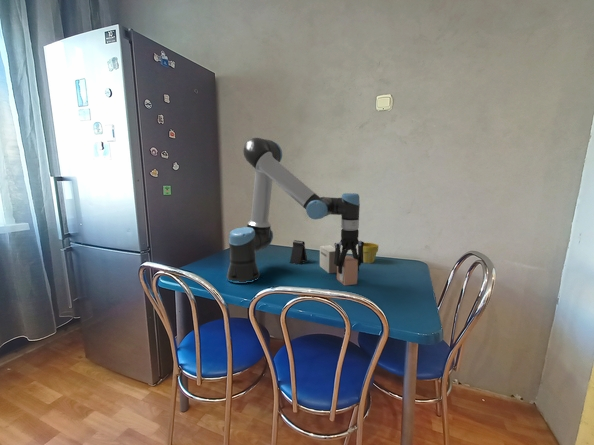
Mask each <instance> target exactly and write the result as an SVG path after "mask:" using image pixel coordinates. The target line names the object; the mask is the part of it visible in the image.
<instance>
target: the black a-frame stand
mask: <svg viewBox="0 0 594 445" xmlns="http://www.w3.org/2000/svg"><path fill="white" fill-rule="evenodd" d="M305 244H306V243H305V241H302V240H295V239H294V240H293V241H292V249H291V254H290V259H289V260H290V261H289V263H290V264H293V263H295V265H298V264H300V265H302V264H304V263H306V262H308V256H307V250H306V246H305ZM305 261H306V262H305ZM303 262H304V263H303ZM301 263H302V264H301Z"/></svg>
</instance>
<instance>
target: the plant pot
mask: <svg viewBox="0 0 594 445" xmlns="http://www.w3.org/2000/svg"><path fill="white" fill-rule="evenodd" d="M378 251H379V244H377V243H373V242H364V246H363V264H364V263H365V264H373V263H375V260H376V255H377V253H378Z"/></svg>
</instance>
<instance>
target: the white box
mask: <svg viewBox="0 0 594 445" xmlns="http://www.w3.org/2000/svg"><path fill="white" fill-rule="evenodd" d="M341 252H342V250H340V255H341ZM334 259H335V246H332V245H330V244H329V245H320V246H319V267H320V269H321V268H322V269H323V270H324V271H325V272H327V273H328V274H337V266H336V265H335V264H334Z"/></svg>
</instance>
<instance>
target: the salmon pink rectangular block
mask: <svg viewBox="0 0 594 445" xmlns="http://www.w3.org/2000/svg"><path fill="white" fill-rule="evenodd" d="M343 267H344V281H341V280H340V274H339V273H338V266H337V273H336V280H337V281H338V282H339V283H341V284H342V285H343V286H351V285H352V286H353V285H358V274H357V267H358V260H357V259H355V258H353V256H351V255H347V254H346V257H345V260H344V263H343Z"/></svg>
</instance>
